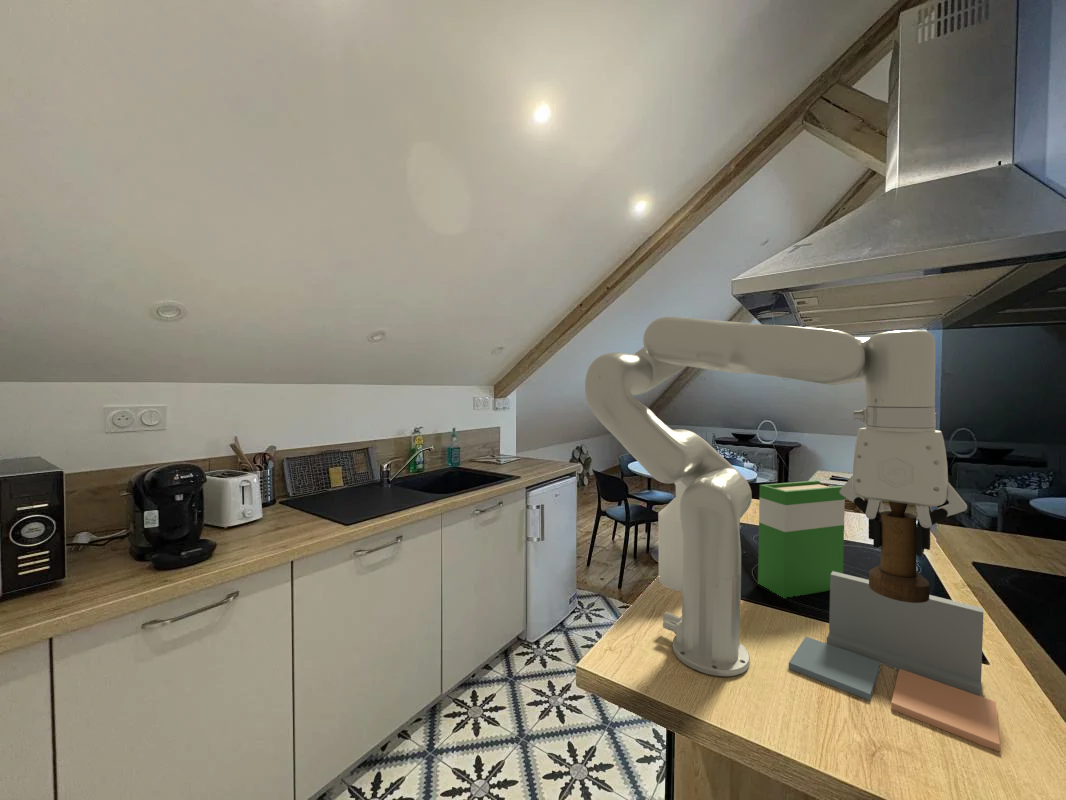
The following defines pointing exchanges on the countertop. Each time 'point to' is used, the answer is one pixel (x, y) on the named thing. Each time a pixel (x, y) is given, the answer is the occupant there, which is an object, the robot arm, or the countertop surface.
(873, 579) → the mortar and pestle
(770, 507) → the hardback book
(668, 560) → the bottle
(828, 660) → the mat bluegrey
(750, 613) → the countertop surface
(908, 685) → the tile terracotta
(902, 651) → the upright grey panel
